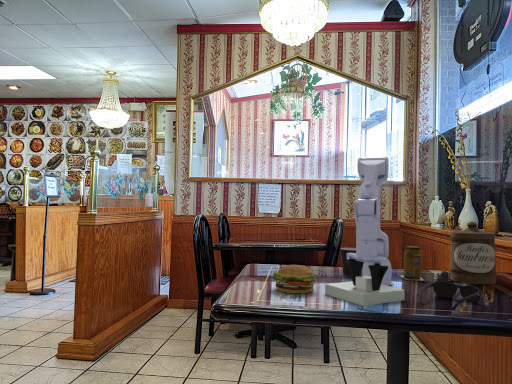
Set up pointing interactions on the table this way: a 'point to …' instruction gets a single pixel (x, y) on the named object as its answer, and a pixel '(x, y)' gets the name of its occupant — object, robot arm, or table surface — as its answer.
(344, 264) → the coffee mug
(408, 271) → the condiment
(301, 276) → the food
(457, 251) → the wooden container
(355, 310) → the table surface
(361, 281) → the block
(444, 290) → the sunglasses
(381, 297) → the pale green square slab
